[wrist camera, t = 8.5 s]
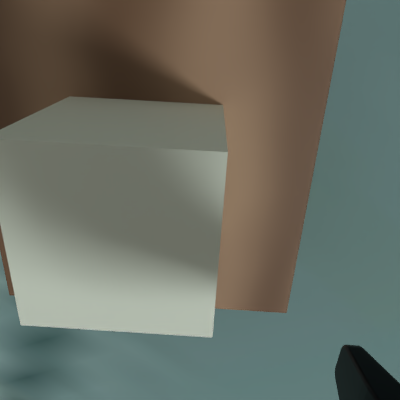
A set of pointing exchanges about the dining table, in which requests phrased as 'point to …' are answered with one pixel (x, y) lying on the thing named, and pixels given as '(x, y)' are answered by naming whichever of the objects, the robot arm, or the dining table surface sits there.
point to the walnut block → (197, 102)
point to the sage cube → (115, 214)
